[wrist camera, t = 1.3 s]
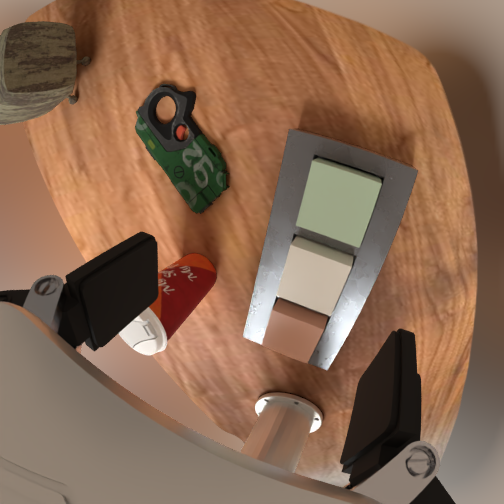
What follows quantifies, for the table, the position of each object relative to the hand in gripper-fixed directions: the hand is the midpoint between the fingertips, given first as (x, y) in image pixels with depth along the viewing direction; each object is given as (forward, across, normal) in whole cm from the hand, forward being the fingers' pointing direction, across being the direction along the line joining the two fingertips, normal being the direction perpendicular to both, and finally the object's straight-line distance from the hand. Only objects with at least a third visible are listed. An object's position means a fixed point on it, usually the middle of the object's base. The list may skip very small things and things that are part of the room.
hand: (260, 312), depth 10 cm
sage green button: (+19, -1, 0) cm, 19 cm away
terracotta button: (+19, -1, +16) cm, 25 cm away
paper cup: (+21, +14, +16) cm, 30 cm away
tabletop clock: (+21, +42, -12) cm, 49 cm away
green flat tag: (+21, +18, -1) cm, 28 cm away
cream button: (+19, -1, +8) cm, 20 cm away
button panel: (+21, -1, +8) cm, 22 cm away
